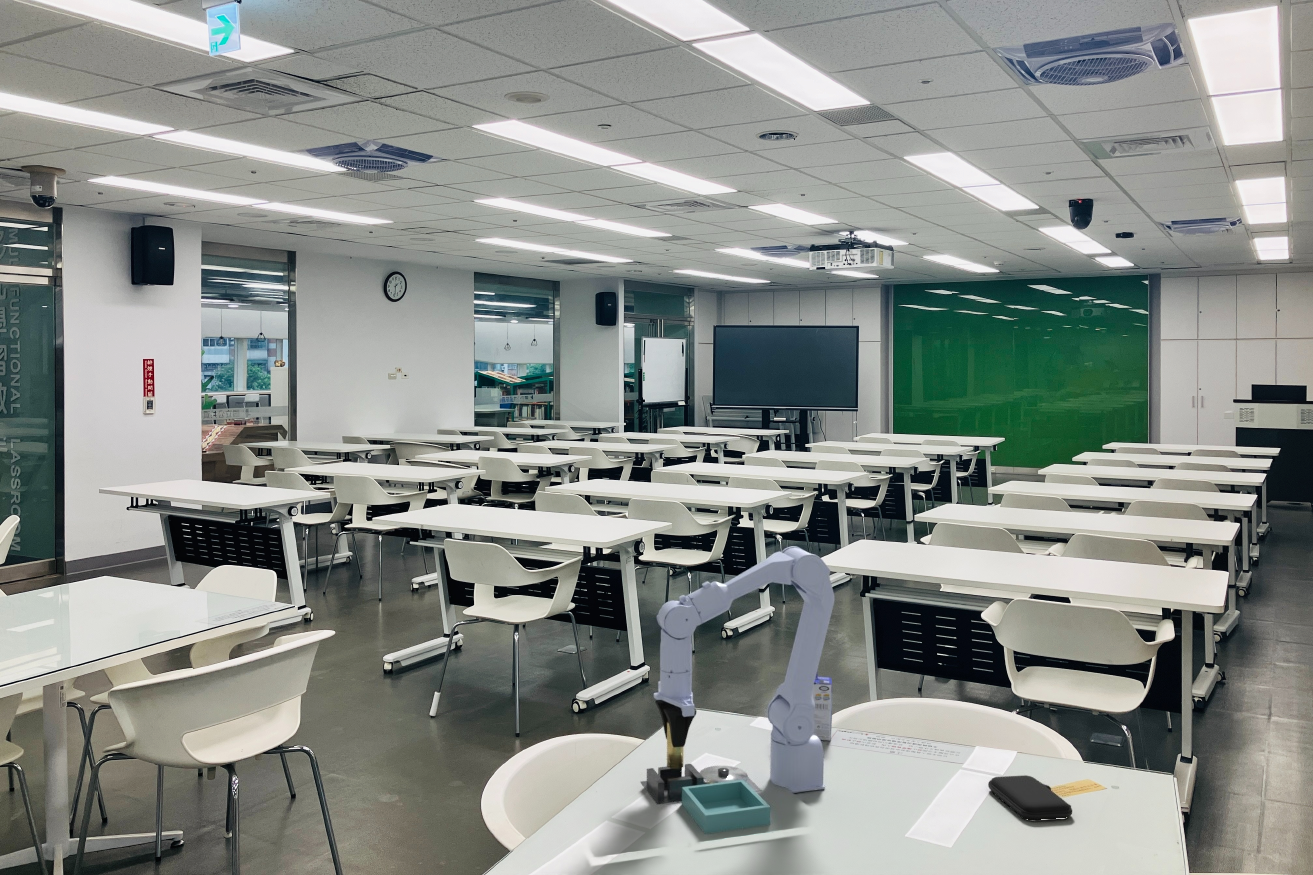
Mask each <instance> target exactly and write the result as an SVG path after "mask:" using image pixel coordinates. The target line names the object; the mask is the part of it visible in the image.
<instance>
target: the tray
mask: <svg viewBox="0 0 1313 875" xmlns="http://www.w3.org/2000/svg"><path fill="white" fill-rule="evenodd" d="M681 805H682V806H683V807H684V809H685V810H686V811H687V814H689V815H690V816H691V818H692V819H693V820H694V822H695V823H696V824H697V826H698V827H699V828H700V829H701V830H702V831H703V832H704V834H705V835H706V834H707V835H708V834H713V833H719V832H720V833H721V832H727V831H735V830H741V829H748V828H756V827H762V826H769V825H771V806H770V805H769V804H768V802H766V800H764V799H763V797H761V796H760V795H759V794H758V792H757V791H756V792H755V791H754V790H753V789H752V788H751V787H750V786H749V785H748V784H747V783H746V782H745V781H744V780H736V781H728V782H720V783H712V784H704V785H696V786H688V787H682V801H681Z"/></svg>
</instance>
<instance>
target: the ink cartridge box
mask: <svg viewBox="0 0 1313 875" xmlns="http://www.w3.org/2000/svg"><path fill="white" fill-rule="evenodd" d="M812 694H813V699H814V703H815V710H814V721H815V730H814V733H813V735H816V736H817V737H818V738H819V739H820V741H831V740H832V724H833V723H832V721H833V681H832V677H828V676H827V677H825V676H819V675H818V672H817V673H816V677H815V681H814V685H813V689H812Z"/></svg>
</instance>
